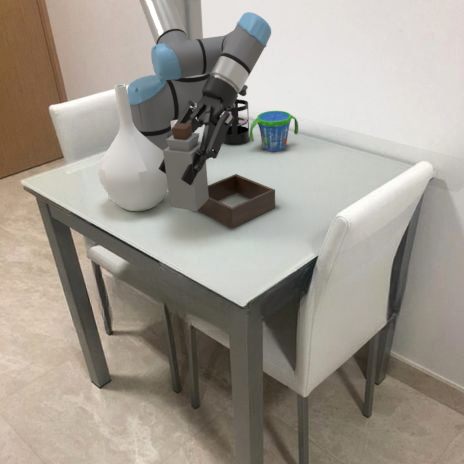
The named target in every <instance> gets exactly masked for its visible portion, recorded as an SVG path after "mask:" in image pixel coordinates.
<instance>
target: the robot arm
mask: <svg viewBox="0 0 464 464" xmlns="http://www.w3.org/2000/svg"><path fill="white" fill-rule="evenodd" d="M139 3H140V6H141V9H142V11H143V14H144V16H145V17H144V18H145V19H146V22H147V24H148V27H149V30H150V33H151V35H152V38H153V40H154V43H155V44H154V45H153V46H152V47H151V52H150V53H151V54H150V57H151V64H152V69H153V72H154V75H153V74H150V75H149V74H148V75H145V76H142V77H138V78H137V79H134V80H133V81H132V82H130V83H129V84H128V87H127V88H126V89H127V94H128V99H129V104H130V109H131V115H132V121H133V123H134V125H135V127H136V128H137V130H138V131H139V132H140V133H141V134H142V135H144V136H145V137H146V138H147V139H148V140H149V141H150V142H152V143H153V144H154V145H156V146H157V147H158V148H160V149H161V150H162V151H163V150H165V149H166V148H167V147H169V146H168V143H167V141H166V139H168V138H169V137H170V136H172V135H173V132H172V122H173V121H176V122H175V123H174V125H173V127H174V126H175V125H176V124H178V123H184V124H192V133H196V131H197V130H198V129H199V128H202V127H203V126H204V128H203V133H202V136H201V141H200V142H201V146H200V150H197V152H198V153H199V154H200V155H199V154H198V153H196V152H195V155H194V159H193V162H192V164H190V165H188V167H187V169H186V171H185V173H184V174H183V176H182V178H181V180H183V181H184V182H186V183H187V184H189V185H191V184H192V183H193V181H194V179H195V177H196V175H197V173H198V172H200V171H201V169H202V167H203V165H204V164H205V162H206V163H207V161H208V160H209V159H212V160H213V159H214V160H215V159H217V157H218V155H219V152H220V151H221V147H222V145H223V144H224V143H223V140H224V138H225V136H226V133H227V131H228V128H229V126H230V125H231V124H232V122H233V121H234V117H233V116H232V115H231V114H230V113H229V112H228V111H227V110H229V109H231V108H232V106H233V105H234V103H235V101H236V99H238V98H239V94H238V93H239V92H240V91H241V90H242V88H243V86H244V85H246V82H247V80H248V78H249V77H250V75H251V73H252V72H253V70H254V68H255V66H256V65H257V62H258V61H259V59H260V57H261V56H262V53H263V52H264V50H265V48H267V45H268V42H269V41H270V38H271V36H272V28H271V26H270V23H268V22H267V20H265V19H264V18H263V17H262V16H260V15H259V14H257V13H254V12H251V11H247V12H244V13H243V14H242V15H241V17H240V18H239V20H238V21H237V22H236V25H235V27H234V29H233V30H232V31H230V32H228V33H227V34H225V35H224V34H223V35H220V36H212V37H205V38H204V30H203V13H202V0H139ZM192 166H193V168H192ZM158 169H159V170H161V171H162V172H164V173H165V174H166V169H165V162H164V159H163V161H162V163H161V165H160V167H159V168H158ZM193 177H194V178H193Z"/></svg>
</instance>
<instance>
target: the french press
mask: <svg viewBox="0 0 464 464" xmlns="http://www.w3.org/2000/svg"><path fill="white" fill-rule="evenodd" d="M248 89H249V86H248V85H247V84H244V86H243V88H242V90H241V91H240V92H239V93H238V95H240V96H241V97H245V96H247V90H248ZM239 105H241V106H239ZM245 110H246V111H247V112H249V102H248V100H246V99H245V100H244V99H239V98H237V99H236V101H235V103H234V105H233V106H232V108H231V109H229V110H227V111H228V112H231V115H232V116H233V117H234V121H233V122H232V124H231V125H230V126H229V128H228V131H227V133H226V136H225V138H224V140H223V143H222V144H224V145H229V146H241V145H244V144H247V143H249V142H250V141H251V137H250V119H249V117H250V116H249V114H247V118H246V117H243V116H239V112H243V111H245ZM246 125H247V126H246Z"/></svg>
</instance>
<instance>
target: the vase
mask: <svg viewBox="0 0 464 464" xmlns="http://www.w3.org/2000/svg"><path fill="white" fill-rule="evenodd" d="M127 89H128V88H127V85H126V84H124V83H120V84H116V85H114V92H115V93H114V94H115V98H116V105H117V112H118V118H119V129H118V133H117V134H116V136H115V138H114V139H113V141H112V142H111V144H110V146H109V148H108V149H107V150H106V152H105V153H104V154H103V155H102V157H101V158H100V160H99V161H98V178H99V181H100V184H101V185H102V187H103V189H104V191H105V192H106V194H107V195H108V197H109V198H110V200H112V202H113V203H115V204H116V205H117V206H119V207H120V208H122V209H123V210H125V211H129V212H143V211H148V210H150V209H153V208H155V207H157V206H158V205H159V204H160V202H162V201H163V199H164V197H165V195H166V194H167V193H168V192H167V191H168V184H167V177H166V174H165V173H164V172H162V171H161V170H159V169H158V168H159V167H160V165H161V163H162V161H163V159H164V154H163V151H162V150H161V149H160V148H158V147H157V146H156V145H154V144H153V143H152V142H150V141H149V140H148V139H147V138H146V137H145V136H144V135H142V134H141V133H140V132H139V131H138V130H137V128H136V127H135V125H134V123H133V121H132V115H131V109H130V104H129V99H128V93H127Z"/></svg>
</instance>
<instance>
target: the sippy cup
mask: <svg viewBox="0 0 464 464" xmlns="http://www.w3.org/2000/svg"><path fill="white" fill-rule="evenodd" d="M292 119H293V120H294V130H293V133H294V135H296V136H297V135H298V134H299V122H298V120H297V119H298V118H296V117H295V116H294V115H292V114H291V113H289V112H287V111H284V110H267V111H264V112H261V113H259V114H258V115H257V116H256V119H254V120H253V121H252V123H251V125H250V127H249V137H250V141H252V142H254V133H253V131H254V128H255V126H257V125H258V129H259V132H260V139H261V140H260V141H261V145H262V148H263V150H266V151H268V152H279V151H282V150H284V149H286V146H287V144H288V136H289V132H290V131H289V130H290V124H291V122H292Z"/></svg>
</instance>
